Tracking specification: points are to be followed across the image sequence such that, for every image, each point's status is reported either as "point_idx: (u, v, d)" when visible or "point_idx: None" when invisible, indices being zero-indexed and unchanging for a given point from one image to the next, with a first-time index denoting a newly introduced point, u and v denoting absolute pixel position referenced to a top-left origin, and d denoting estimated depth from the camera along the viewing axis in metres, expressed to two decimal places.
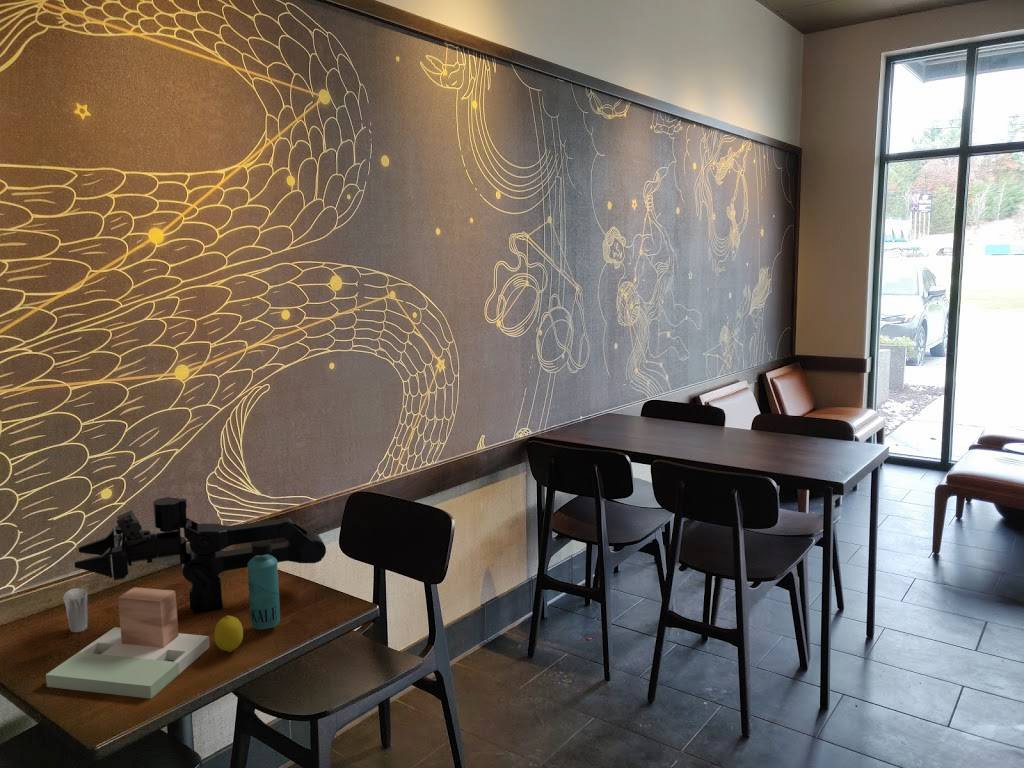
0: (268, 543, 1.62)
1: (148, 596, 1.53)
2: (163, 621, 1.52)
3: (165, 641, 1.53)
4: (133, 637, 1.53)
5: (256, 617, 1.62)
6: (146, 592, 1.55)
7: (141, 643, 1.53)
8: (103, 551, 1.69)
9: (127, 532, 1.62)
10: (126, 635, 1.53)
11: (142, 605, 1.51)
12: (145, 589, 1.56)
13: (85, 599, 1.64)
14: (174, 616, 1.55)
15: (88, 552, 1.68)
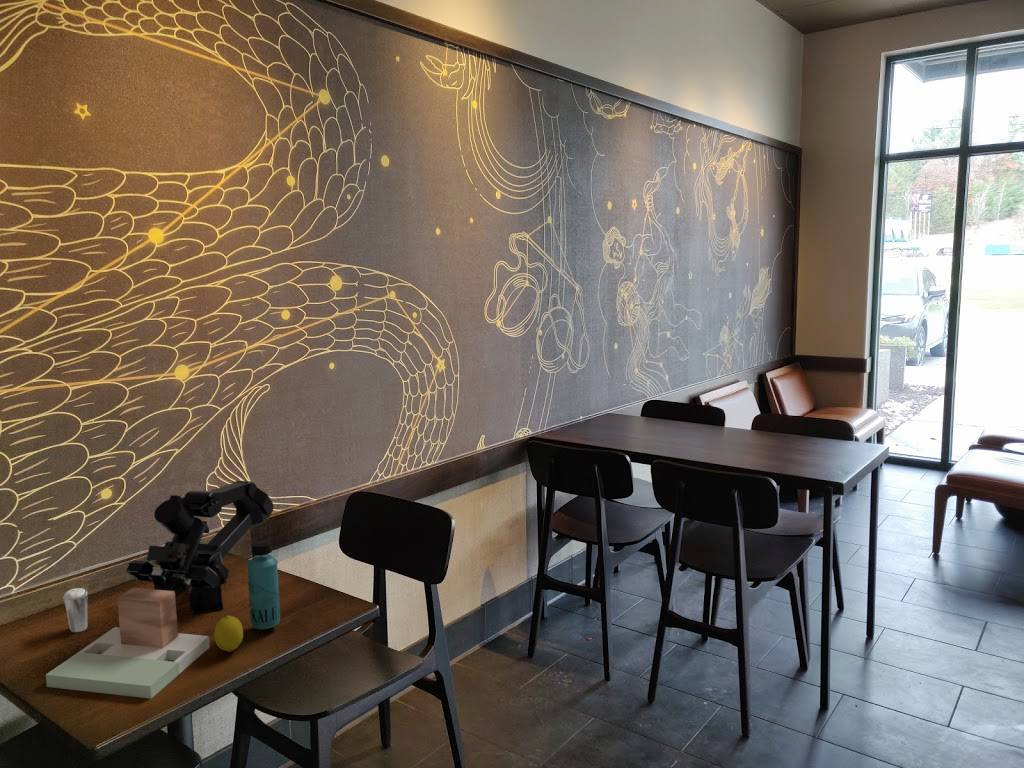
0: (268, 543, 1.62)
1: (147, 597, 1.52)
2: (162, 621, 1.52)
3: (164, 641, 1.52)
4: (133, 637, 1.53)
5: (256, 617, 1.62)
6: (145, 592, 1.55)
7: (140, 644, 1.53)
8: None
9: (181, 557, 1.58)
10: (125, 635, 1.53)
11: (141, 606, 1.51)
12: (144, 589, 1.56)
13: (85, 599, 1.64)
14: (173, 616, 1.55)
15: None
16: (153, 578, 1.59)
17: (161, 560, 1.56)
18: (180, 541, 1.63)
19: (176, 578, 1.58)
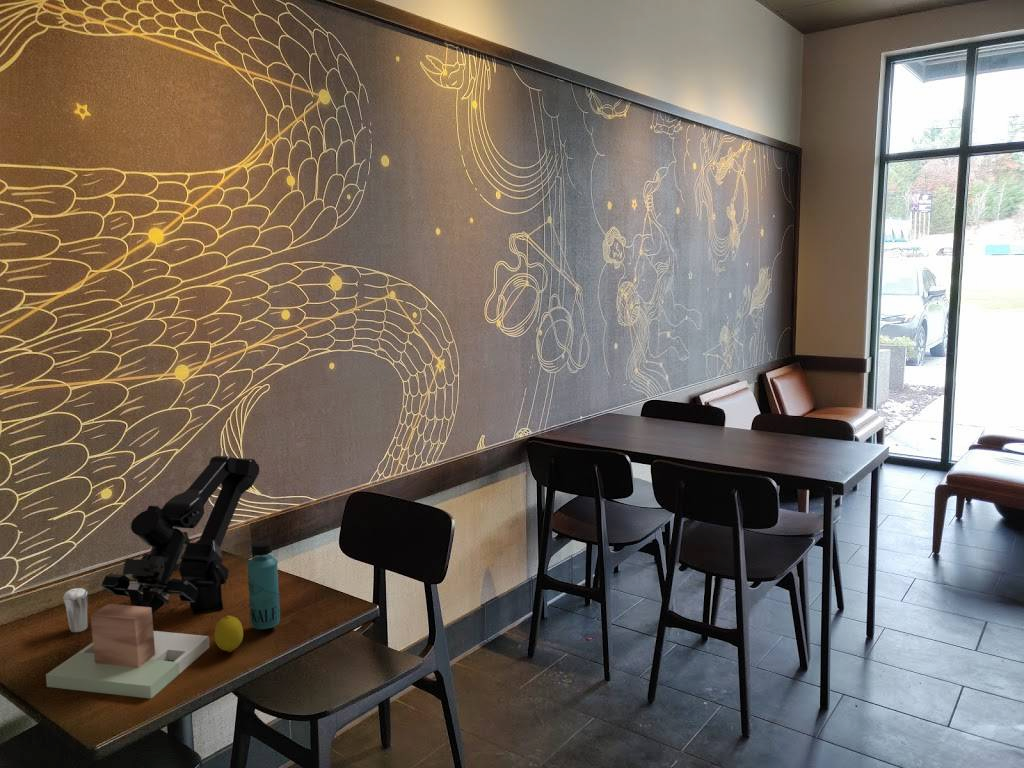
0: (268, 543, 1.62)
1: (122, 614, 1.45)
2: (138, 640, 1.44)
3: (140, 661, 1.45)
4: (107, 656, 1.46)
5: (256, 617, 1.62)
6: (120, 608, 1.47)
7: (115, 663, 1.45)
8: None
9: (159, 570, 1.51)
10: (99, 654, 1.46)
11: (115, 623, 1.44)
12: (120, 606, 1.49)
13: (85, 599, 1.64)
14: (150, 634, 1.48)
15: None
16: (129, 593, 1.52)
17: (137, 574, 1.49)
18: (158, 554, 1.56)
19: (153, 593, 1.51)
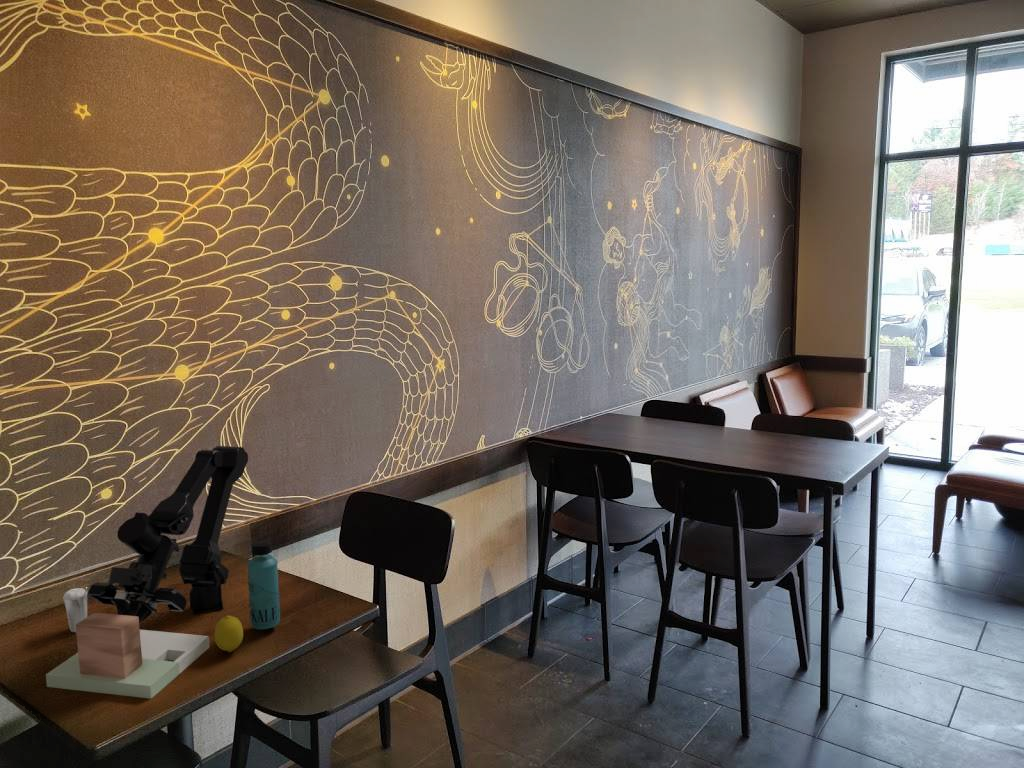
0: (268, 543, 1.62)
1: (108, 623, 1.41)
2: (124, 650, 1.40)
3: (127, 671, 1.41)
4: (93, 666, 1.42)
5: (256, 617, 1.62)
6: (106, 618, 1.44)
7: (101, 673, 1.42)
8: None
9: (146, 579, 1.47)
10: (85, 665, 1.42)
11: (101, 633, 1.40)
12: (106, 615, 1.45)
13: (85, 599, 1.64)
14: (137, 644, 1.44)
15: None
16: (116, 602, 1.48)
17: (124, 583, 1.45)
18: (146, 561, 1.52)
19: (141, 602, 1.47)
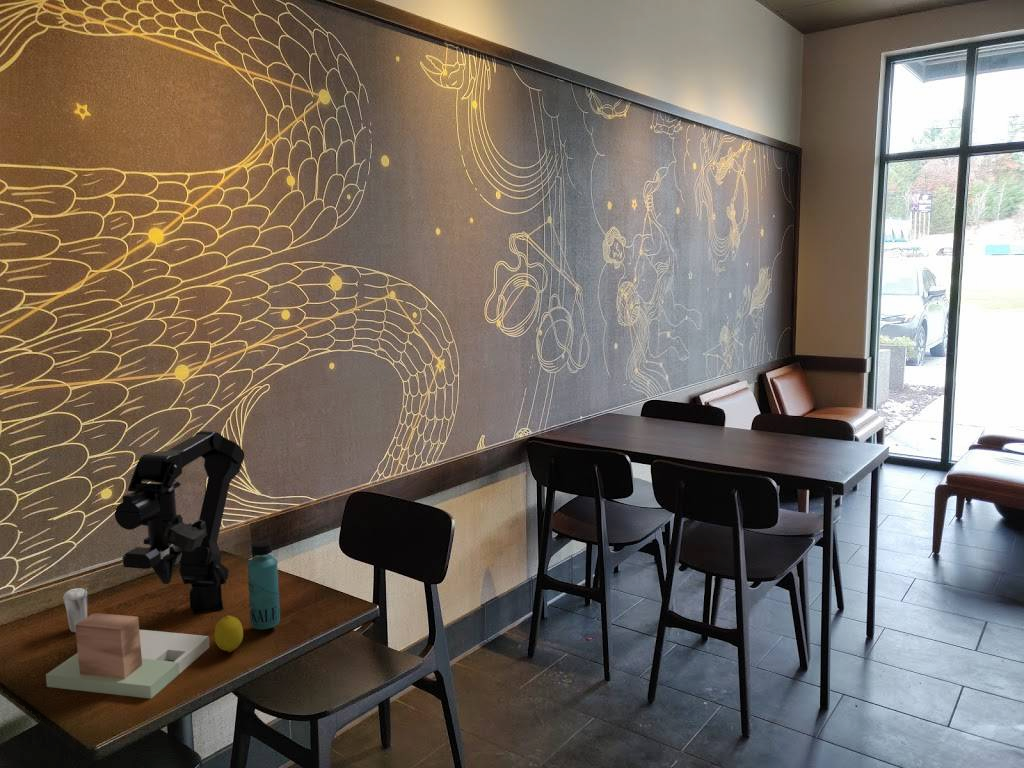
0: (268, 543, 1.62)
1: (108, 623, 1.41)
2: (124, 650, 1.40)
3: (126, 672, 1.41)
4: (92, 667, 1.42)
5: (256, 617, 1.62)
6: (106, 618, 1.43)
7: (100, 674, 1.42)
8: None
9: None
10: (84, 665, 1.42)
11: (101, 633, 1.40)
12: (106, 615, 1.45)
13: (85, 599, 1.64)
14: (137, 644, 1.44)
15: None
16: (169, 559, 1.57)
17: (200, 545, 1.59)
18: (175, 516, 1.58)
19: None
